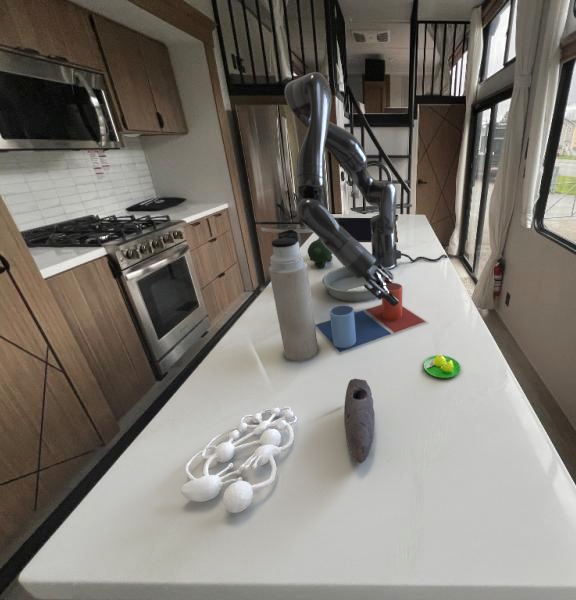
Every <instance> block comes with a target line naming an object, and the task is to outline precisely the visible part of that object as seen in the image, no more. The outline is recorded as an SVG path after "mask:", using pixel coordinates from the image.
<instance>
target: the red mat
mask: <svg viewBox="0 0 576 600" xmlns="http://www.w3.org/2000/svg"><path fill="white" fill-rule="evenodd" d="M365 311H366V312H367V313H368V314H370V315H371V316H372V317H374V318H375V319H376V320H377V321H379V322H380V323H381V324H383V325H384V327H386V328H388V329H389V330H390V331H392V332H393V333H398V332H401V331H403V330H406V329H409V328H412V327H415V326H417V325H420V324H423V323H426V320H424V319H423V318H421V317H420V316H418V315H416V314H415V313H413V312H412V311H410V310H409V309H407V308H406V307H404V306H402V317H401V318H399V319H396V320H389V319H385V318H384V317H383V316H382V304H379V305H376V306H373V307H370V308H365Z"/></svg>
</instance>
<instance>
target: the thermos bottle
mask: <svg viewBox="0 0 576 600" xmlns="http://www.w3.org/2000/svg"><path fill="white" fill-rule="evenodd" d="M271 246H272V251H273V254H272V255H271V256H270V258H269V259H270V261H269V262H270V264H271V265H270V266H269V267H268V273H269V277H270V283H271V288H272V294H273V300H274V304H275V310H276V314H277V318H278V319H277V321H278V324H279V330H280V336H281V342H282V346H283V352H284V356H285V358H287V359H288V360H291V361H304V360H308V359H310V358H312V357H314V356H315V355H317V353H318V351H319V345H318V344H319V343H318V337H317V331H316V330H317V329H316V323H315V315H314V307H313V301H312V293H311V285H310V277H309V271H308V264H307V262H306V261H304V256H303V253H302V252H301V251H300V252H298V251H297V246H296V239H293V238H281V239H279V238H276V239H274V240H272V241H271Z"/></svg>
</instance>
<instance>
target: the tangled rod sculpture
mask: <svg viewBox="0 0 576 600" xmlns="http://www.w3.org/2000/svg"><path fill="white" fill-rule="evenodd" d="M284 410H285V412H284V413H283V416H281V417H280V418H279V416H280V415H281V412H282V411H284ZM267 412H270V416H269V418H268V419H267V420H265V419H264V420H262V419H263V416H262V415H264V414H265V413H267ZM246 418H251V420H252V422H253V423H254V424H248V423H246V422H244V420H245V419H246ZM275 418H277V419H275ZM274 419H275V420H274ZM292 419H294V420H293V421H291V420H292ZM287 421H289V422H287ZM297 422H298V418H297V416H296V415H295V414H294V412H293V410H292V408H291V406H284V407H281V408H279V407H273V408H266V409H264V410H262V411H260V412H257V413H254V414H245V415H243V416H242V417H241V418H240V419H239V424H238V425H237V426H234V427H231V428H228V429H227V430H225V431H222V432H221V433H218V434H217V435H215V436H214V437H212V438H211V439H210V440H209V441H208V443H207V444H206V445H205V447H204V448H202V449H201V450H200V451H198V452H197V453H195V454H194V455H193V456H192V457H191V458H190V459H189V460H188V461H187V462H186V464H185V466H184V473H185V475H186V477H187V478H189V480H190V481H188V482H185V484H183V485H182V486H181V489H180V494H181V496H183V497H184V498H186V499H188V500H189V501H193V502H208V501H211V500H213V499H214V498H215V497H217V496H218V495H219V493H220V492H221V490H222V486H224V485H227V484H230V483H231V484H230V485H229V486H228V487H227V488H226V489H225V491H224V493H223V497H222V502H223V506H224V508H225V510H226V511H229V512H230V513H231V514H232V513H234V514H235V513H237V514H238V513H240V512H243V511H244V510H246V509H247V508H248V507H249V506H250V504H251V503H252V501H253V498H254V491H257V490H260V489H264V488H266V487H268V486H269V485H271V484H272V483H273V482H274V480H275V479H276V476H277V462H276V459H274V458H275V457H277V456H279V455H280V454H281V453H282V452H284V451H286V450H288V449H289V448H290V447H291V446H292V445H293V442H294V439H295V436H294V435H295V434H294V430H293V427H292V426H291V425H294V424H296V423H297ZM258 423H259V424H258ZM274 427H276V429H275V428H274ZM248 429H251V430H252V429H253V430H252V431H251V432H250V433H249V432H248ZM284 430H287V432H288V436H289V437H288V441H287V442H286V444H284V445H283V446H280V447H279V445H280V444H281V442H282V436H281V433H280V431H284ZM246 432H248V434H245V435H244V436H243V437H241V438H240V434H244V433H246ZM227 434H228V436H227V437H228V441H224V442H221V443H219V444H218V445H213V442H214V441H216V440H217V439H219V438H221V437H223V436H224V435H227ZM253 436H259V439H256V440H253V441H250V442H247V443H243V442H244V441H246V440H248V439H250V438H252V437H253ZM232 442H233V443H232ZM241 443H243V444H241ZM256 445H260V446H259V447H256V448H255V450H254V452H253V454H252V455H250V456H249V457H248V458H247V459H246V460H245V461H244V463H243V464H240V465H239V467H238V468H237V469H236V470H235V471H231V472H227V471H228V470H229V469H232V468H233V467H234V463H233V462H229V461H230V460H231V459H232V458H233V457H234V455H235V453H236V451H239V450H242V449H246V448H250V447H252V446H256ZM212 449H213V450H214V453H212V454H209V455H206V452H207V451H209V450H212ZM200 455H201V458H202V459H203V460H205V463H203V468H202V476H201V477H199V478H196V477H194V476H193V475H192V473H191V472H190V471H189V467H190V465H191V463H192V462H193V461H195V459H197V458H198V457H199V456H200ZM214 460H216V461H217V462H218V463H227V462H229V463H228V464H227V466H226V467H225V468H224V469H222V470H220V472H219V473H218V472H217V473H216V474H210V473H209V467H210V465H211V463H212V462H213V461H214ZM253 462H254V463H253ZM268 462H269V464H270V467H271V473H270V476H269V478H267V480H264V481H262V482H258V483H256V484H250V482H248V481H246V480H243V477H242V476H240V475H241V474H242V470H245V471H246V470H248V468H249V466H250V465H251V464H252V463H253V464H252V466H251V467H252V468H253V469H256V468H258V466H264V465H265V464H267V463H268ZM226 472H227V473H226ZM224 473H226V474H224ZM223 474H224V475H223ZM221 475H222V476H221ZM233 475H237V476H238V475H239V477H238V478H231V479H227V480H224V479H226V478H227V477H228V478H229V477H230V476H233ZM223 480H224V481H223Z"/></svg>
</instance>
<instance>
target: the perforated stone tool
mask: <svg viewBox="0 0 576 600" xmlns="http://www.w3.org/2000/svg"><path fill="white" fill-rule="evenodd" d="M345 391H346V393H345V397H344V409H343V420H344V422H343V423H344V430H345V436H346V437H345V438H346V441H347V446H348V449H349V452H350V454H351V456H352V458H353V460H355V462H356V463H357V464H359V465H361V464H363V463H364V462H365V461H366V460H367V458H368V456H369V454H370V451H371V448H372V446H373V440H374V435H375V409H374V398H373V394H372V390H371V386H370V385H369V383H368V382H367V380H366V379H360V378H353V379H349V381H348V383H347V386H346V390H345Z"/></svg>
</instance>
